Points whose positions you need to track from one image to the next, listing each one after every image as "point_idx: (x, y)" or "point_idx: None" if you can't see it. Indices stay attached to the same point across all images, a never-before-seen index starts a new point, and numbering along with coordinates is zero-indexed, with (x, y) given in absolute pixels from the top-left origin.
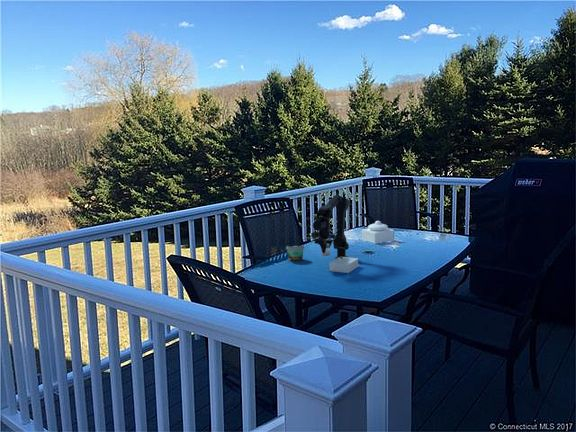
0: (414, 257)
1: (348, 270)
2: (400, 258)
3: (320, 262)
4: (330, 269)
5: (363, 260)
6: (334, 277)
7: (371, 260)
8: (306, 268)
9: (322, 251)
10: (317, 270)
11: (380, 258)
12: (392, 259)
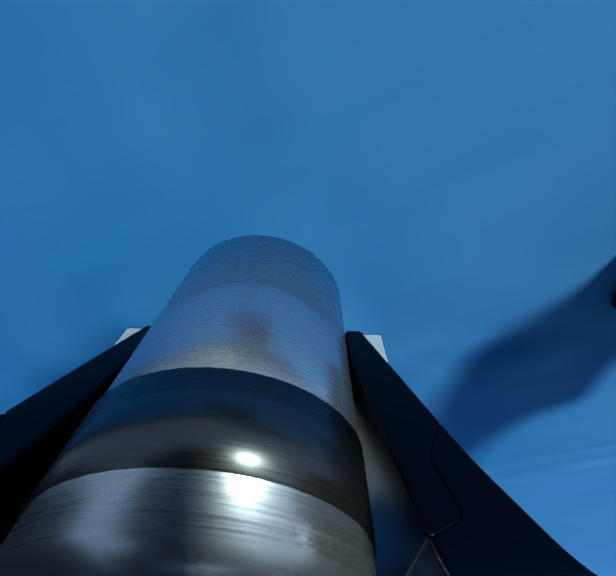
0: (607, 566)
1: None
2: (591, 541)
3: (433, 71)
4: None
5: (549, 432)
6: (15, 405)
7: (547, 465)
8: (6, 2)
9: (110, 353)
10: (56, 216)
11: (605, 487)
12: (569, 524)
